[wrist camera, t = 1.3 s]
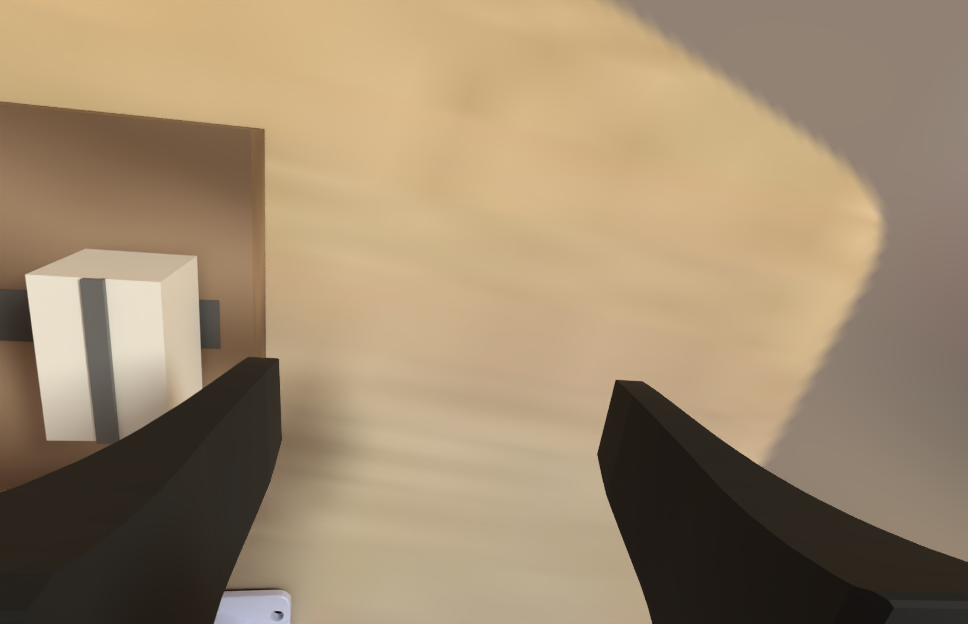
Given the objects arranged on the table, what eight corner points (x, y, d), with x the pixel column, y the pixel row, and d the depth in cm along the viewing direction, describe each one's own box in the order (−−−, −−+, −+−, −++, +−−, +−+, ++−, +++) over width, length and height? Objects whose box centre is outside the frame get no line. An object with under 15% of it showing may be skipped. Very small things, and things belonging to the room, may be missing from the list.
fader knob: (202, 393, 19) (168, 444, 16) (99, 390, 18) (43, 443, 15) (196, 256, 17) (158, 284, 14) (85, 248, 17) (21, 276, 14)
